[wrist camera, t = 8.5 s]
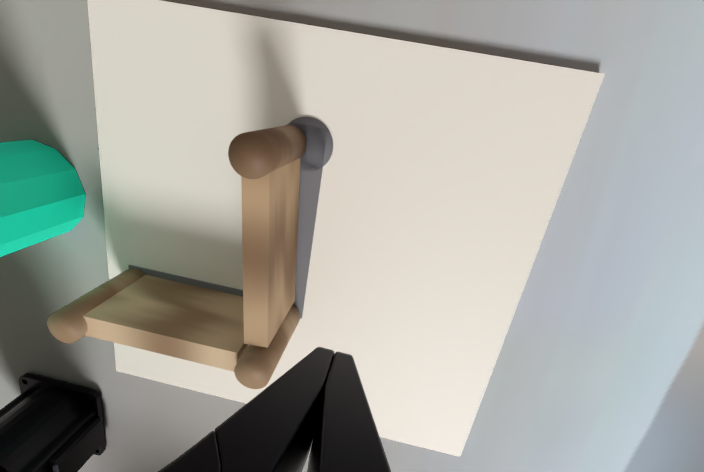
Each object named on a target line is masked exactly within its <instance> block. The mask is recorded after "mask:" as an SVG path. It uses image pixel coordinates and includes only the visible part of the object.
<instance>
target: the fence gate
mask: <svg viewBox="0 0 704 472" xmlns="http://www.w3.org/2000/svg"><path fill="white" fill-rule="evenodd" d="M306 147H307V141H306V137H305V135H304V133H303V132H302V131H301V130H300V129H299V128H297V127H295V126H293V125H285V126H279V127H273V128H268V129H262V130H256V131H251V132H245V133H241V134H239V135H237V136H236V137H235V138H234V139H233V140H232V141H231V143H230V146H229V150H228V156H229V161H230V164H231V166H232V167H233V169H234V170H235V171H236V172H237V173H238V174H239V175H240V176H241V184H242V249H243V313H244V344H249V345H254V346H260V347H266V348H268V346H269V344H270V343H271V341H272V339H273V338H274V336H275V334H276V332H277V331H278V329H279V327H280V325H281V324H282V322H283V320H284V319H285V317H286V315H287V313H288V312H289V310H290V308H291V306H292V305H293V303H294V301H295V284H296V259H297V234H298V209H299V184H300V159H301V157H302V156H303V154H304V153H305V151H306Z"/></svg>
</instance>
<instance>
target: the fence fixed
mask: <svg viewBox="0 0 704 472" xmlns="http://www.w3.org/2000/svg"><path fill="white" fill-rule="evenodd" d="M299 321H300V313H299V311H298V309H297V308H296V307H295V306H294V305H292V306H291V308H290V310H289V312H288V313H287V315H286V317H285V319H284V320H283V322H282V324H281V325H280V327H279V329H278V331H277V332H276V334H275V336H274V338H273V339H272V341H271V343H270V344H269V346H268V348H266V347H260V346H254V345H249V344H244V313H243V297H242V296H237V295H233V294H228V293H224V292H220V291H215V290H211V289H206V288H202V287H198V286H193V285H189V284H184V283H180V282H176V281H171V280H167V279H162V278H158V277H154V276H149V275H146V274H145V273H144V272H142V271H141V270H139V269H136V268H129V269H127V270H125V271H124V272H122V273H120V274H119V275H117V276H115V277H114V278H112V279H110V280H109V281H107V282H105V283H103V284H102V285H100V286H98V287H97V288H95V289H93V290H92V291H90V292H88V293H86V294H85V295H83V296H81V297H80V298H78V299H76V300H75V301H73V302H71V303H70V304H68V305H66V306H64V307H63V308H61V309H59V310H58V311H56V312H54V313H53V314H51V315H50V316H49V317H48V319H47V326H48V329H49V331H50V332H51V334H52V335H53V336H54V337H55V338H56V339H58V340H59V341H61V342H64V343H74V342H76V341H77V340H79V339H80V338H82V337H83V336H84V335H85V336H89V337H94V338H98V339H102V340H106V341H110V342H114V343H118V344H122V345H126V346H131V347H135V348H139V349H143V350H147V351H151V352H155V353H159V354H163V355H167V356H172V357H176V358H180V359H184V360H188V361H192V362H196V363H200V364H204V365H208V366H213V367H217V368H221V369H225V370H229V371H233V372H234V373H235V376H236V378H237V380H238V381H239V382H240V383H241V384H242V385H244V386H245V387H247V388H250V389H261V388H263V387H265V386H266V385H267V384H268V382H269V380H270V378H271V376H272V374H273V372H274V370H275V368H276V366H277V364H278V362H279V360H280V358H281V356H282V354H283V352H284V350H285V349H286V347H287V345H288V343H289V341H290V339H291V337H292V335H293V333H294V331H295V329H296V327H297V325H298V323H299Z"/></svg>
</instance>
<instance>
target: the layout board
mask: <svg viewBox="0 0 704 472" xmlns="http://www.w3.org/2000/svg"><path fill="white" fill-rule="evenodd" d="M88 13H89V26H90V39H91V52H92V64H93V77H94V90H95V103H96V116H97V129H98V142H99V155H100V167H101V180H102V193H103V206H104V219H105V232H106V245H107V258H108V271H109V280H110V279H112V278H114V277H115V276H117V275H119V274H120V273H122V272H124V271H125V270H127V269H129V268H136V269H139V270H141V271H142V272H144V273H145V274H146V275H149V276H154V277H158V278H162V279H167V280H171V281H176V282H180V283H184V284H189V285H193V286H198V287H202V288H206V289H211V290H215V291H220V292H224V293H228V294H233V295H237V296H242V297H243V249H242V184H241V176H240V175H239V174H238V173H237V172H236V171H235V170H234V169H233V167H232V166H231V164H230V161H229V156H228V150H229V146H230V143H231V141H232V140H233V139H234V138H235V137H236V136H237V135H239V134H241V133H245V132H251V131H256V130H262V129H268V128H273V127H279V126H285V125H293V126H295V127H297V128H299V129H300V130H301V131H302V132H303V133H304V135H305V137H306V141H307V147H306V151H305V153H304V154H303V156H302V157H301V159H300V184H299V209H298V234H297V259H296V284H295V301H294V303H293V305H294V306H295V307H296V308H297V309H298V311H299V313H300V321H299V323H298V325H297V327H296V329H295V331H294V333H293V335H292V337H291V339H290V341H289V343H288V345H287V347H286V349H285V350H284V352H283V354H282V356H281V358H280V360H279V362H278V364H277V366H276V368H275V370H274V372H273V374H272V376H271V378H270V380H269V382H268V384H267V385H266V386H265V387H263V388H261V389H250V388H247V387H245V386H244V385H242V384H241V383H240V382H239V381H238V380H237V378H236V376H235V373H234V372H233V371H229V370H225V369H221V368H217V367H213V366H208V365H204V364H200V363H196V362H192V361H188V360H184V359H180V358H176V357H172V356H167V355H163V354H159V353H155V352H151V351H147V350H143V349H139V348H135V347H131V346H126V345H122V344H118V343H114V348H115V361H116V371H118V372H122V373H126V374H130V375H134V376H138V377H142V378H146V379H150V380H154V381H158V382H162V383H166V384H170V385H174V386H178V387H182V388H186V389H190V390H194V391H198V392H202V393H206V394H210V395H214V396H218V397H222V398H226V399H230V400H234V401H238V402H242V403H246V404H247V403H248V402H249V401H251V400H252V399H253V398H254V397H256V396H257V395H258V394H259V393H261V392H262V391H263V390H264V389H266V388H267V387H268V386H269V385H271V384H272V383H273V382H274V381H276V380H277V379H278V378H279V377H281V376H282V375H283V374H284V373H286V372H287V371H288V370H289V369H291V368H292V367H293V366H294V365H296V364H297V363H298V362H299V361H301V360H302V359H303V358H304V357H306V356H307V355H308V354H309V353H311V352H312V351H313V350H314V349H316V348H317V347H323V348H327V349H331V350H333V351H334V354H335V353H336V352H337V351H338V352H342V353H346V354H350V355H352V356H353V358H354V361H355V364H356V367H357V370H358V373H359V376H360V379H361V382H362V385H363V389H364V392H365V395H366V398H367V401H368V404H369V407H370V410H371V413H372V416H373V419H374V422H375V425H376V428H377V431H378V434H379V437H382V438H386V439H390V440H394V441H398V442H402V443H406V444H410V445H414V446H418V447H422V448H426V449H430V450H434V451H438V452H442V453H446V454H450V455H454V456H458V457H460V456H461V453H462V451H463V448H464V445H465V443H466V440H467V438H468V435H469V432H470V430H471V427H472V424H473V422H474V419H475V416H476V414H477V411H478V408H479V406H480V403H481V400H482V398H483V395H484V393H485V390H486V387H487V385H488V382H489V379H490V377H491V374H492V371H493V369H494V366H495V363H496V361H497V358H498V356H499V353H500V350H501V348H502V345H503V342H504V340H505V337H506V334H507V332H508V329H509V326H510V324H511V321H512V319H513V316H514V313H515V311H516V308H517V305H518V303H519V300H520V297H521V295H522V292H523V289H524V287H525V284H526V281H527V279H528V276H529V274H530V271H531V268H532V266H533V263H534V260H535V258H536V255H537V252H538V250H539V247H540V244H541V242H542V239H543V237H544V234H545V231H546V229H547V226H548V223H549V221H550V218H551V215H552V213H553V210H554V207H555V205H556V202H557V200H558V197H559V194H560V192H561V189H562V186H563V184H564V181H565V178H566V176H567V173H568V170H569V168H570V165H571V163H572V160H573V157H574V155H575V152H576V149H577V147H578V144H579V141H580V139H581V136H582V133H583V131H584V128H585V125H586V123H587V120H588V118H589V115H590V112H591V110H592V107H593V104H594V102H595V99H596V96H597V94H598V91H599V88H600V86H601V83H602V81H603V78H604V75H605V74H602V73H596V72H590V71H584V70H578V69H572V68H566V67H559V66H553V65H547V64H541V63H535V62H529V61H523V60H517V59H511V58H505V57H499V56H493V55H487V54H481V53H475V52H469V51H463V50H457V49H451V48H445V47H439V46H433V45H427V44H421V43H415V42H409V41H403V40H396V39H390V38H384V37H378V36H372V35H366V34H360V33H354V32H348V31H342V30H336V29H330V28H324V27H318V26H312V25H306V24H300V23H294V22H288V21H282V20H276V19H270V18H264V17H258V16H252V15H246V14H240V13H233V12H227V11H221V10H215V9H209V8H203V7H197V6H191V5H185V4H179V3H173V2H167V1H161V0H88Z"/></svg>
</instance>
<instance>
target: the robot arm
mask: <svg viewBox="0 0 704 472" xmlns="http://www.w3.org/2000/svg"><path fill="white" fill-rule="evenodd" d="M19 384H20V389H21V395H20V396H18V397H17V398H16V399H14V400H13V401H12V402H10V403H9V404H8V405H6V406H5V407H4V408H2V409H1V410H0V472H77V471H78V470H79V469H80V468H81V467H82V466H83V465H84V464H85V463H86V461H87V460H88V459H89V458H90V457H91V456H92V455H93V454H95V455H101V454H102V453H103V452H104V451H105V449H106V445H105V435H104V425H103V415H102V405H101V396H100V394H99V393H98V392H97V391H95V390H92V389H88V388H84V387H80V386H77V385H73V384H69V383H65V382H61V381H57V380H53V379H49V378H45V377H41V376H37V375H34V374H30V373H25V374H24V375H22V376H21V377H20V378H19ZM312 441H313V442H312ZM311 445H312V447H311ZM310 448H311V451H310ZM309 451H310V457H309V463H308V470H307V472H391V470H390V467H389V464H388V461H387V458H386V455H385V452H384V449H383V446H382V443H381V440H380V437H379V434H378V431H377V428H376V425H375V422H374V419H373V416H372V413H371V410H370V407H369V404H368V401H367V398H366V395H365V392H364V389H363V385H362V382H361V379H360V376H359V373H358V370H357V367H356V364H355V361H354V358H353V356H352V355H350V354H346V353H342V352H338V351H337V352H336V353H335V354H334V351H333V350H331V349H327V348H323V347H317V348H316V349H314V350H313V351H312V352H311V353H309V354H308V355H307V356H306V357H304V358H303V359H302V360H301V361H299V362H298V363H297V364H296V365H294V366H293V367H292V368H291V369H289V370H288V371H287V372H286V373H284V374H283V375H282V376H281V377H279V378H278V379H277V380H276V381H274V382H273V383H272V384H271V385H269V386H268V387H267V388H266V389H264V390H263V391H262V392H261V393H259V394H258V395H257V396H256V397H254V398H253V399H252V400H251V401H249V402H248V403H247V404H246V405H244V406H243V407H242V408H241V409H239V410H238V411H237V412H236V413H234V414H233V415H232V416H231V417H229V418H228V419H227V420H226V421H224V422H223V423H222V424H221V425H219V426H218V427H217V428H216V429H215V432H214V431H212V432H210V433H209V434H208V435H207V436H205V437H204V438H203V439H202V440H200V441H199V442H198V443H197V444H195V445H194V446H193V447H191V448H190V449H189V450H187V451H186V452H185V453H184V454H182V455H181V456H180V457H178V458H177V459H176V460H174V461H173V462H171V463H170V464H169V465H167V466H166V467H164V468H163V469H161V470H160V471H158V472H302V470H303V467H304V464H305V462H306V459H307V457H308V454H309Z"/></svg>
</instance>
